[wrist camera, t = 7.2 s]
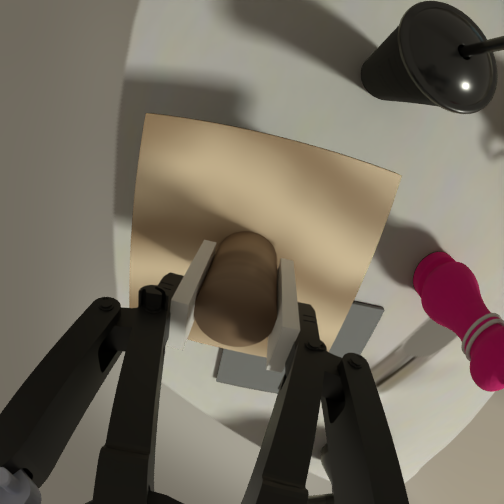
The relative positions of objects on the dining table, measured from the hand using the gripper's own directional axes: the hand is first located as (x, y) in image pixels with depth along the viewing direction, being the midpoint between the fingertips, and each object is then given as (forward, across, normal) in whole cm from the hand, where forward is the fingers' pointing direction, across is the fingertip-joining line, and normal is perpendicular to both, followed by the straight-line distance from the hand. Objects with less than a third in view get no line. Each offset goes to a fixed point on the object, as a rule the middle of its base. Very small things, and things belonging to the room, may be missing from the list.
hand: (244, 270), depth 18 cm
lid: (+3, 0, 0) cm, 3 cm away
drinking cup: (+14, -9, -17) cm, 24 cm away
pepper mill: (+14, -23, +2) cm, 27 cm away
